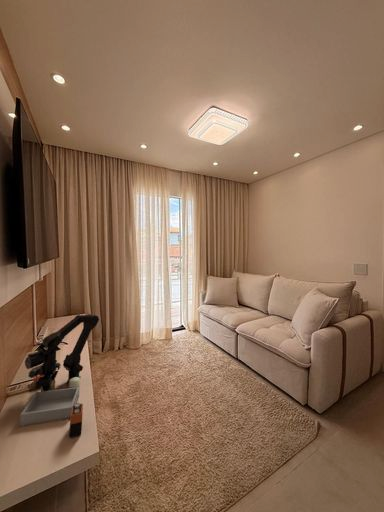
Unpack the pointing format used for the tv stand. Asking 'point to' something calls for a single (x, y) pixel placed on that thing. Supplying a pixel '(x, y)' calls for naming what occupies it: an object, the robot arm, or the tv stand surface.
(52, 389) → the walnut cube
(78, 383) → the sage capsule
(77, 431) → the battery
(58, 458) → the tv stand surface
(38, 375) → the kendama
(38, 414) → the tote
